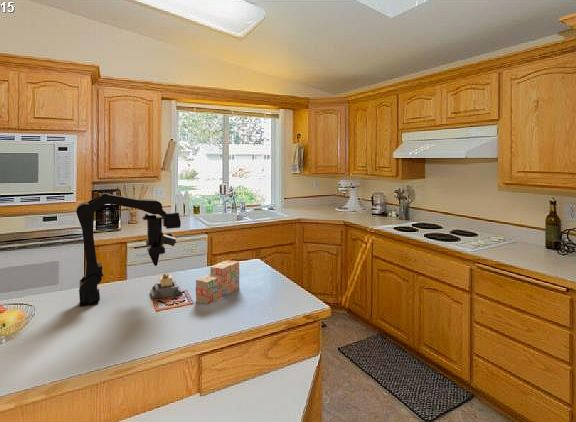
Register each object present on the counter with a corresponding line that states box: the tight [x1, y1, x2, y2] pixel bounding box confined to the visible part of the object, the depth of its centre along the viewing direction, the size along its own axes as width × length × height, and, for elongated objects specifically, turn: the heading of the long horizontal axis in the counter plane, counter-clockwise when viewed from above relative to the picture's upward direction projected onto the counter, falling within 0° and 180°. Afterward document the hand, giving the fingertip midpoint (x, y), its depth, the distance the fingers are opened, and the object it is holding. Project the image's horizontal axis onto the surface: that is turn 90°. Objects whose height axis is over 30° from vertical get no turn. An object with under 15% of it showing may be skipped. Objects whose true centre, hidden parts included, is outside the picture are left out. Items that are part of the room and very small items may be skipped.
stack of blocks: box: [195, 259, 240, 305], centre depth 154 cm, size 21×6×12 cm, turn 152°
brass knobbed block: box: [159, 273, 173, 288], centre depth 155 cm, size 4×4×7 cm
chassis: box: [150, 280, 183, 300], centre depth 155 cm, size 12×10×4 cm
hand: (155, 265), depth 156 cm, fingers closed
